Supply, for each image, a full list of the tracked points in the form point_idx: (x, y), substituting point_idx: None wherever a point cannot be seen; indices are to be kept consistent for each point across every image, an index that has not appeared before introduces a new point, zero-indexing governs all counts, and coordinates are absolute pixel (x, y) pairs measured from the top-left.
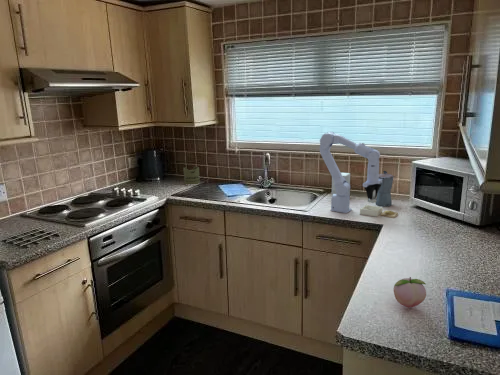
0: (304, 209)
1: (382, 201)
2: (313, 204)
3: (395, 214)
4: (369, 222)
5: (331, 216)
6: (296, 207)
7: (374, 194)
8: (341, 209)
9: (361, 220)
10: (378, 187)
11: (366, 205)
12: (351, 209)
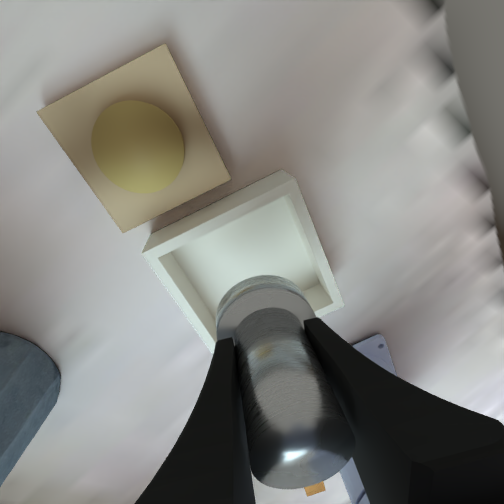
0: None
1: (14, 381)
2: None
3: (110, 79)
4: (436, 95)
5: (483, 326)
6: None
7: (288, 355)
8: (393, 373)
9: (434, 171)
10: (223, 477)
11: None
12: None
